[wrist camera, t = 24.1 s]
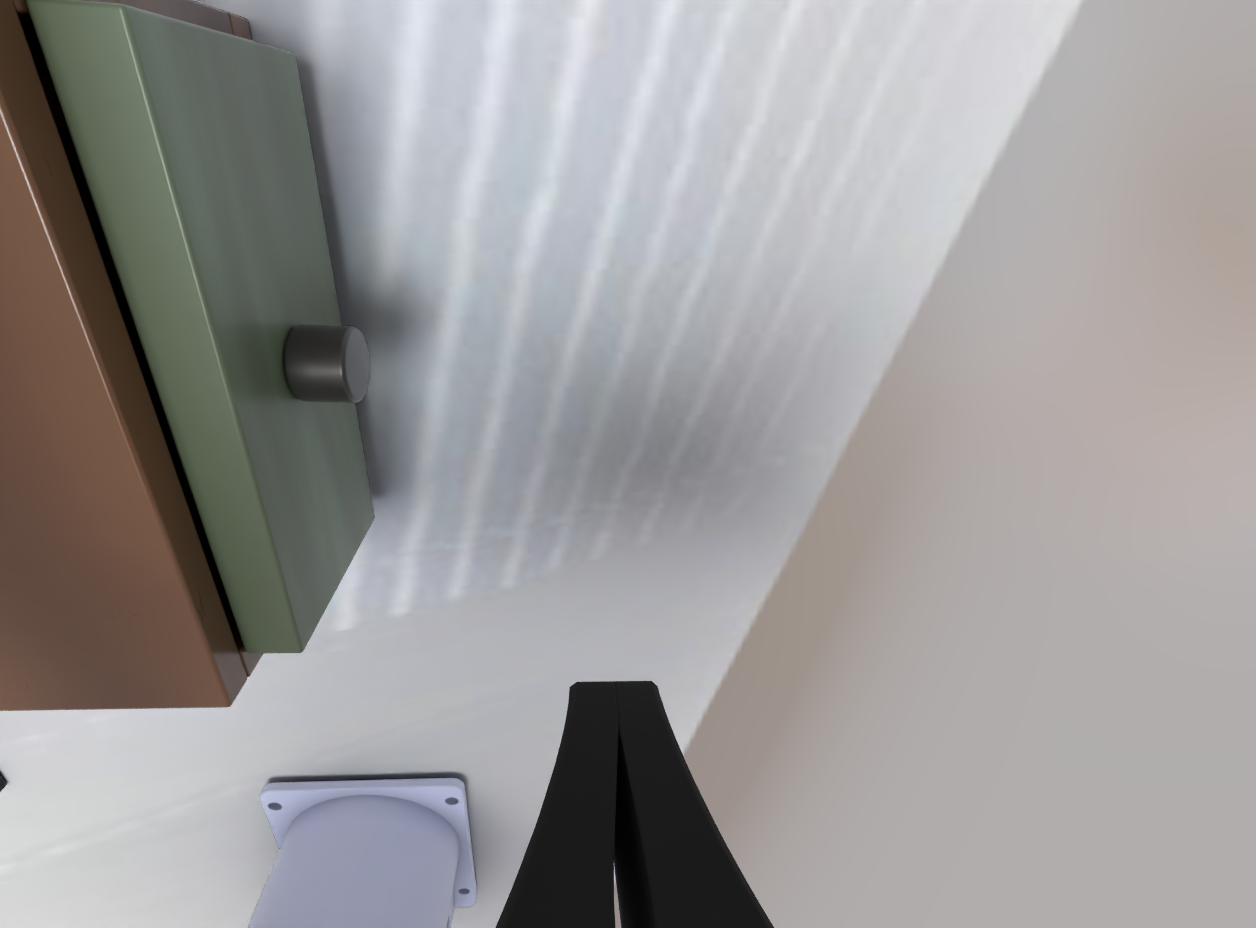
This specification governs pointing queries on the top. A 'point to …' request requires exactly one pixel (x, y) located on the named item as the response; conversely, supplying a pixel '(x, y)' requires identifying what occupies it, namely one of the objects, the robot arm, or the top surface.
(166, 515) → the cabinet
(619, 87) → the top surface
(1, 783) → the mat
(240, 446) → the drawer
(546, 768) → the top surface
